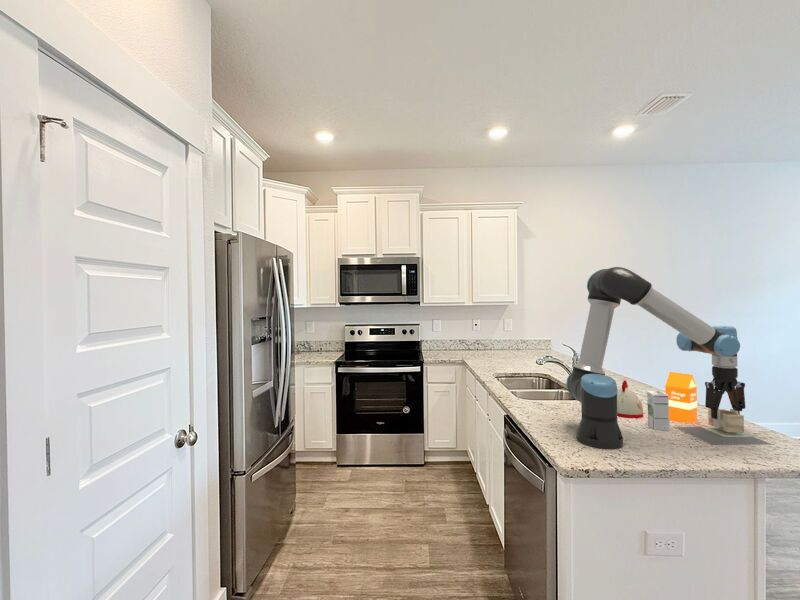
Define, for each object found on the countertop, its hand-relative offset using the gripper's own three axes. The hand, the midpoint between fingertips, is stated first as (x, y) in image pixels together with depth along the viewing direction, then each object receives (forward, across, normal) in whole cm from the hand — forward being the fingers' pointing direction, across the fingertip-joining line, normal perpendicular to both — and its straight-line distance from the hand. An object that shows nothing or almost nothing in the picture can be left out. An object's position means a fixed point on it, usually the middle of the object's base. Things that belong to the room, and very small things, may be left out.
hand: (725, 426), depth 147 cm
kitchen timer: (+3, -23, +26) cm, 35 cm away
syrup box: (+3, -22, +6) cm, 23 cm away
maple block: (0, 0, 0) cm, 0 cm away
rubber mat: (+2, -5, -4) cm, 7 cm away
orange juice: (+3, -5, +16) cm, 17 cm away
